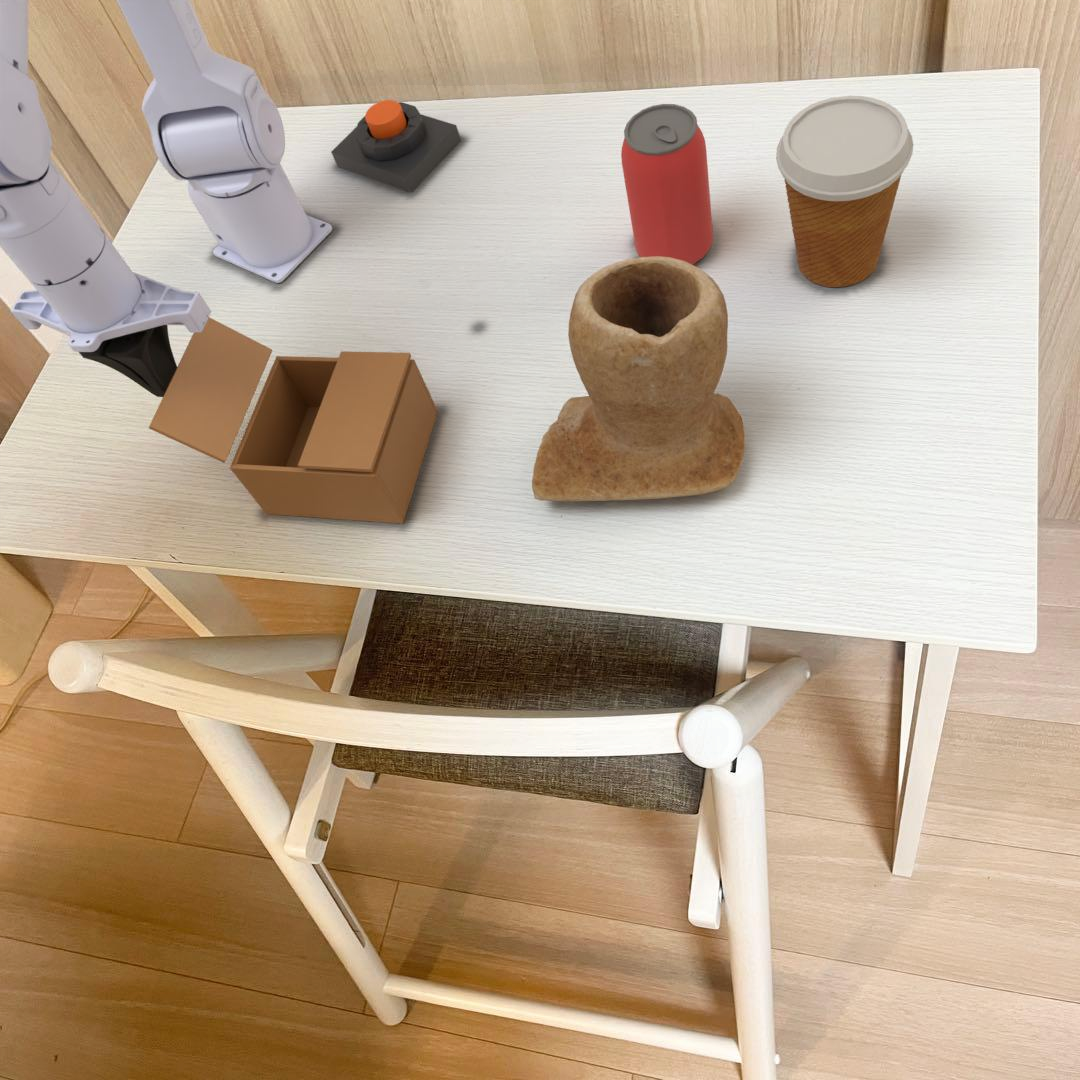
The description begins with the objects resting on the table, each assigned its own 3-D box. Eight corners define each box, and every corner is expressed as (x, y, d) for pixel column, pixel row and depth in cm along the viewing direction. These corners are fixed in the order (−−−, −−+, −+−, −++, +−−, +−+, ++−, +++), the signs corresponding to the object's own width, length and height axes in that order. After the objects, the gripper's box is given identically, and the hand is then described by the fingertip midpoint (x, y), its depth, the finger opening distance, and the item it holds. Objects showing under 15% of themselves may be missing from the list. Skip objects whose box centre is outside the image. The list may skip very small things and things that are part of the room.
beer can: (661, 286, 86) (644, 168, 76) (622, 242, 89) (601, 125, 79) (728, 249, 86) (721, 128, 76) (687, 208, 90) (674, 86, 80)
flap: (225, 461, 76) (224, 463, 76) (272, 349, 81) (271, 352, 81) (149, 426, 73) (148, 428, 74) (202, 313, 78) (201, 316, 79)
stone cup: (745, 379, 79) (737, 229, 66) (745, 510, 73) (737, 372, 60) (552, 389, 82) (510, 248, 70) (537, 515, 76) (488, 385, 64)
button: (363, 134, 100) (357, 119, 98) (386, 111, 101) (381, 96, 99) (391, 143, 98) (385, 128, 97) (414, 120, 99) (408, 104, 98)
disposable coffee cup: (763, 294, 83) (760, 173, 73) (794, 212, 87) (795, 87, 77) (884, 311, 80) (898, 186, 70) (911, 224, 84) (928, 95, 74)
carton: (265, 514, 82) (224, 461, 76) (307, 406, 87) (272, 349, 81) (403, 523, 78) (371, 470, 72) (438, 411, 83) (411, 352, 77)
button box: (337, 167, 103) (324, 138, 100) (387, 118, 106) (376, 87, 103) (411, 193, 98) (400, 163, 96) (461, 141, 101) (451, 110, 98)
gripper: (-54, 298, 67) (67, 425, 78) (135, 300, 63) (234, 433, 74) (-5, 222, 70) (105, 353, 82) (178, 219, 66) (266, 358, 78)
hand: (169, 386), depth 78 cm, fingers closed
